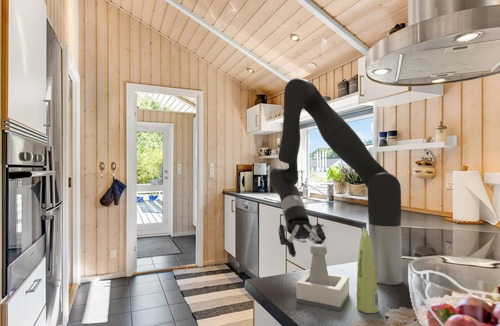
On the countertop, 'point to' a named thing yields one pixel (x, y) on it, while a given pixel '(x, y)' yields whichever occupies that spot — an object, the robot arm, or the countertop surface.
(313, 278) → the salt shaker
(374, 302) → the tube
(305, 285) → the socket dock
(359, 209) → the countertop surface
